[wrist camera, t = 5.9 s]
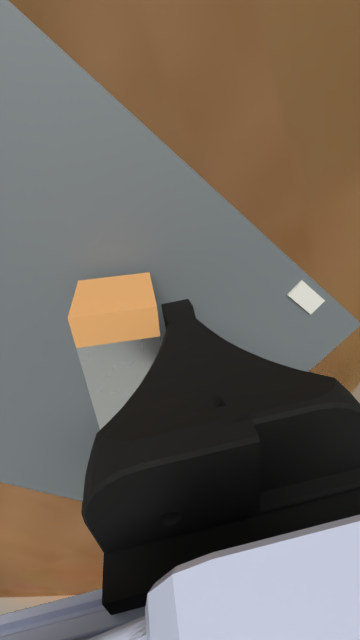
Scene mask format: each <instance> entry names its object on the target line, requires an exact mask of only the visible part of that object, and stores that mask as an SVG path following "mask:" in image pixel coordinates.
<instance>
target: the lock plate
mask: <svg viewBox="0 0 360 640" xmlns="http://www.w3.org/2000/svg"><path fill="white" fill-rule="evenodd" d="M147 272H150V277H151V281H152V286H153V291H154V295H155V300H156V304H157V311H158V320H159V329H160V339H161V343H162V341H163V338H164V335H165V332H166V327H165V322H164V317H163V312H162V307H161V304H165V303H170V302H175V301H180V300H185V299H189V301H190V302H191V304H192V305H193V308H194V312H195V316H196V319H198V320H199V321H200V322H201V323H202V324H204V325H205V326H206V327H207V328H209V329H210V330H211V331H213V332H214V333H216V334H217V335H219V336H220V337H222V338H223V339H225V340H226V341H228V342H230V343H232V344H234V345H235V346H237V347H239V348H241V349H243V350H245V351H248V352H250V353H252V354H255V355H257V356H259V357H262V358H264V359H267V360H270V361H272V362H275V363H278V364H281V365H285V366H288V367H291V368H294V369H298V370H302V371H306V372H308V371H310V370H311V369H312V368H313V367H314V366H315V365H316V364H317V363H319V362H320V361H321V360H322V359H323V358H324V357H325V356H326V355H328V354H329V353H330V352H331V351H332V350H333V349H334V348H335V347H337V346H338V345H339V344H340V343H341V342H342V341H343V340H344V339H346V338H347V337H348V336H349V335H350V334H351V333H352V332H353V331H355V330H356V329H357V328H358V327H359V326H360V322H359V321H358V320H357V319H356V318H354V317H353V316H352V315H351V314H350V313H349V312H348V311H347V310H346V309H345V308H344V307H342V306H341V305H340V304H339V303H338V302H337V301H336V300H335V299H334V298H333V297H331V296H330V295H329V294H328V293H327V292H326V291H325V290H324V289H323V288H322V287H321V286H319V285H318V284H317V283H316V282H315V281H314V280H313V279H312V278H311V277H310V276H309V275H307V274H306V273H305V272H304V271H303V270H302V269H301V268H300V267H299V266H298V265H297V264H295V263H294V262H293V261H292V260H291V259H290V258H289V257H288V256H287V255H286V254H285V253H283V252H282V251H281V250H280V249H279V248H278V247H277V246H276V245H275V244H274V243H273V242H271V241H270V240H269V239H268V238H267V237H266V236H265V235H264V234H263V233H262V232H261V231H259V230H258V229H257V228H256V227H255V226H254V225H253V224H252V223H251V222H250V221H249V220H247V219H246V218H245V217H244V216H243V215H242V214H241V213H240V212H239V211H238V210H237V209H235V208H234V207H233V206H232V205H231V204H230V203H229V202H228V201H227V200H226V199H224V198H223V197H222V196H221V195H220V194H219V193H218V192H217V191H216V190H215V189H214V188H212V187H211V186H210V185H209V184H208V183H207V182H206V181H205V180H204V179H203V178H202V177H200V176H199V175H198V174H197V173H196V172H195V171H194V170H193V169H192V168H191V167H190V166H188V165H187V164H186V163H185V162H184V161H183V160H182V159H181V158H180V157H179V156H178V155H176V154H175V153H174V152H173V151H172V150H171V149H170V148H169V147H168V146H167V145H166V144H164V143H163V142H162V141H161V140H160V139H159V138H158V137H157V136H156V135H155V134H154V133H152V132H151V131H150V130H149V129H148V128H147V127H146V126H145V125H144V124H143V123H142V122H140V121H139V120H138V119H137V118H136V117H135V116H134V115H133V114H132V113H131V112H130V111H128V110H127V109H126V108H125V107H124V106H123V105H122V104H121V103H120V102H119V101H117V100H116V99H115V98H114V97H113V96H112V95H111V94H110V93H109V92H108V91H107V90H105V89H104V88H103V87H102V86H101V85H100V84H99V83H98V82H97V81H96V80H95V79H93V78H92V77H91V76H90V75H89V74H88V73H87V72H86V71H85V70H84V69H83V68H81V67H80V66H79V65H78V64H77V63H76V62H75V61H74V60H73V59H72V58H71V57H69V56H68V55H67V54H66V53H65V52H64V51H63V50H62V49H61V48H60V47H59V46H57V45H56V44H55V43H54V42H53V41H52V40H51V39H50V38H49V37H48V36H47V35H45V34H44V33H43V32H42V31H41V30H40V29H39V28H38V27H37V26H36V25H35V24H33V23H32V22H31V21H30V20H29V19H28V18H27V17H26V16H25V15H24V14H23V13H21V12H20V11H19V10H18V9H17V8H16V7H15V6H14V5H13V4H12V3H10V2H9V1H8V0H0V482H2V483H7V484H11V485H15V486H19V487H24V488H28V489H32V490H37V491H41V492H45V493H49V494H54V495H58V496H62V497H66V498H71V499H75V500H79V501H83V492H84V482H85V475H86V470H87V465H88V461H89V457H90V453H91V449H92V446H93V443H94V439H95V436H96V434H97V432H98V431H100V428H99V425H98V421H97V418H96V415H95V411H94V408H93V404H92V401H91V397H90V394H89V390H88V387H87V384H86V380H85V377H84V373H83V370H82V366H81V363H80V359H79V356H78V353H77V349H76V346H75V342H74V339H73V335H72V332H71V328H70V325H69V322H68V315H69V311H70V308H71V304H72V301H73V297H74V294H75V290H76V287H77V283H78V281H79V280H87V279H96V278H104V277H113V276H122V275H130V274H139V273H147Z"/></svg>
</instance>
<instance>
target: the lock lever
mask: <svg viewBox="0 0 360 640" xmlns="http://www.w3.org/2000/svg"><path fill="white" fill-rule="evenodd" d="M68 322H69V325H70V328H71V332H72V335H73V339H74V342H75V346H76V349H77V353H78V356H79V359H80V363H81V366H82V370H83V373H84V377H85V380H86V384H87V387H88V390H89V394H90V397H91V401H92V404H93V408H94V411H95V415H96V418H97V421H98V425H99V428H100V430H101V429H102V428H103V427H104V426H105V425H106V424H107V423H108V422H109V421H110V420H111V419H112V418H113V417H114V416H115V415H116V414H117V413H118V412H119V411H120V409H121V408H122V407H123V406H124V405H125V403H126V402H127V401H128V400H129V398H130V397H131V396H132V394H133V393H134V392H135V391H136V389H137V388H138V387H139V385H140V384H141V382H142V381H143V379H144V377H145V376H146V374H147V372H148V371H149V369H150V367H151V366H152V364H153V362H154V360H155V358H156V356H157V353H158V351H159V349H160V346H161V339H160V329H159V320H158V311H157V304H156V300H155V295H154V291H153V286H152V281H151V277H150V272H147V273H139V274H130V275H122V276H113V277H104V278H96V279H87V280H79V281H78V283H77V287H76V290H75V294H74V297H73V301H72V304H71V308H70V311H69V315H68Z"/></svg>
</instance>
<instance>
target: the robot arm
mask: <svg viewBox="0 0 360 640" xmlns="http://www.w3.org/2000/svg"><path fill="white" fill-rule="evenodd" d="M161 307H162V312H163V317H164V322H165V327H166V332H165V335H164V338H163V341H162V343H161V346H160V349H159V351H158V353H157V356H156V358H155V360H154V362H153V364H152V366H151V367H150V369H149V371H148V372H147V374H146V376H145V377H144V379H143V381H142V382H141V384H140V385H139V387H138V388H137V389H136V391H135V392H134V393H133V394H132V396H131V397H130V398H129V400H128V401H127V402H126V403H125V405H124V406H123V407H122V408H121V409H120V411H119V412H118V413H117V414H116V415H115V416H114V417H113V418H112V419H111V420H110V421H109V422H108V423H107V424H106V425H105V426H104V427H103V428H102V429H101V430H100V431H98V432H97V434H96V436H95V439H94V443H93V446H92V449H91V453H90V457H89V461H88V465H87V470H86V475H85V482H84V492H83V502H82V516H83V519H84V522H85V524H86V526H87V527H88V529H89V530H90V532H91V533H92V535H93V537H94V538H95V540H96V541H97V543H98V544H99V546H100V548H101V549H102V551H103V552H104V564H103V587H102V589H99V590H95V591H91V592H87V593H84V594H80V595H76V596H72V597H68V598H65V599H61V600H57V601H53V602H49V603H45V604H41V605H38V606H34V607H30V608H26V609H22V610H18V611H14V612H10V613H6V614H3V615H0V640H360V403H359V402H358V401H357V400H356V399H355V398H354V397H353V395H352V394H351V393H350V392H349V391H348V390H347V389H346V388H345V387H344V386H342V385H341V384H340V383H339V382H338V381H337V380H336V379H335V378H332V377H328V376H324V375H319V374H315V373H311V372H306V371H302V370H298V369H294V368H291V367H288V366H285V365H281V364H278V363H275V362H272V361H270V360H267V359H264V358H262V357H259V356H257V355H255V354H252V353H250V352H248V351H245V350H243V349H241V348H239V347H237V346H235V345H234V344H232V343H230V342H228V341H226V340H225V339H223V338H222V337H220V336H219V335H217V334H216V333H214V332H213V331H211V330H210V329H209V328H207V327H206V326H205V325H204V324H202V323H201V322H200V321H199V320H198V319H196V316H195V312H194V308H193V305H192V304H191V302H190V301H189V299H185V300H180V301H175V302H170V303H165V304H161Z"/></svg>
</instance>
